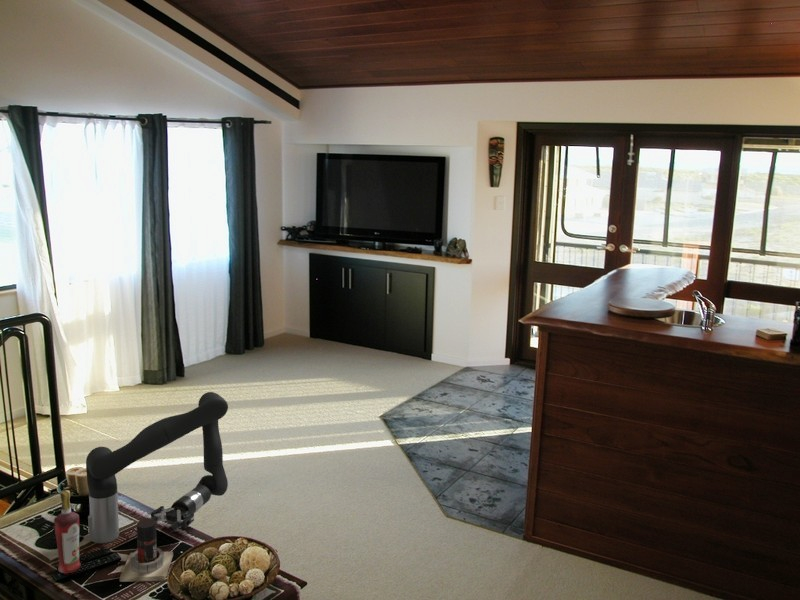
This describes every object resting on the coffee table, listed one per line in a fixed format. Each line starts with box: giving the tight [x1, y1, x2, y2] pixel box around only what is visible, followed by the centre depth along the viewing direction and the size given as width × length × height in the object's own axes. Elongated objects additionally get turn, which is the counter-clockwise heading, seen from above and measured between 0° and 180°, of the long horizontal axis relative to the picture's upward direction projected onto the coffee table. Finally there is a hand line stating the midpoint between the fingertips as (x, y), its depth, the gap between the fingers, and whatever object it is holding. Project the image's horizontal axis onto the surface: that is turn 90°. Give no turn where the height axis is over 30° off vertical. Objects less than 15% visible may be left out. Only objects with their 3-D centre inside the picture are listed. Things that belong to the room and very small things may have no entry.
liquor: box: [53, 489, 82, 575], centre depth 225 cm, size 7×7×28 cm
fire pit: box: [119, 547, 174, 583], centre depth 231 cm, size 14×14×5 cm
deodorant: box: [136, 517, 158, 563], centre depth 229 cm, size 6×6×15 cm
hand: (159, 527), depth 235 cm, fingers open, 8 cm apart
